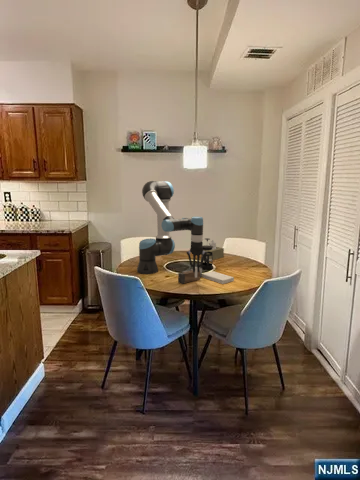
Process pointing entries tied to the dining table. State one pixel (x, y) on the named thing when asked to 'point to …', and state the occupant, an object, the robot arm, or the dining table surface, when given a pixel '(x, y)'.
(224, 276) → the table-top board
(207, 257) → the french press
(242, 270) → the dining table surface
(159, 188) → the robot arm
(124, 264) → the dining table surface
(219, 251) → the tissue box
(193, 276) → the bar
